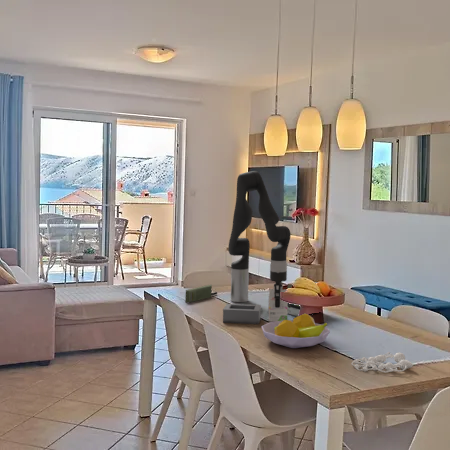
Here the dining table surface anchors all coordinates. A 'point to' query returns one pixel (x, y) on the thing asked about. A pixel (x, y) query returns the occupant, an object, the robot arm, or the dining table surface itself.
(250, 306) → the desk holder
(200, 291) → the handheld radio
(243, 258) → the robot arm
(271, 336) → the fruit bowl
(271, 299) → the ink box
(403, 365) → the tangled rod sculpture
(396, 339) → the dining table surface
